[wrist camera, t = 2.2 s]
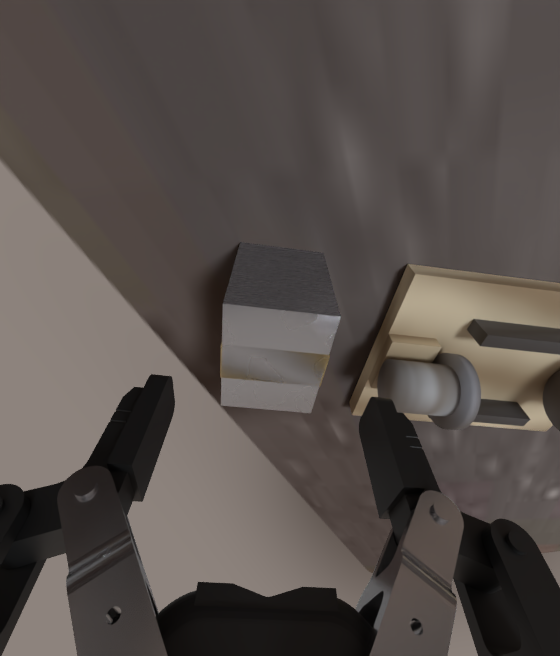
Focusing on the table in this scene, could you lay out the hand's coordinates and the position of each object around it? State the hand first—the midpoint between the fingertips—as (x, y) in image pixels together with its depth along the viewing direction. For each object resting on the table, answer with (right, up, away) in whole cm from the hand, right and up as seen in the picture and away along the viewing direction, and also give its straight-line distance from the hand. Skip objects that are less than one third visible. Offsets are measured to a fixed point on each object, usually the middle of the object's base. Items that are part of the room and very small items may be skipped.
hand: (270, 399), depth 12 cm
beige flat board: (+15, +1, +9) cm, 17 cm away
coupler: (0, +5, +6) cm, 8 cm away
